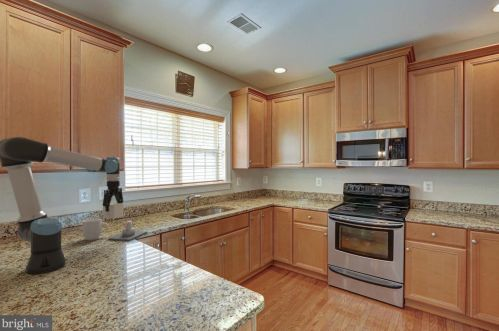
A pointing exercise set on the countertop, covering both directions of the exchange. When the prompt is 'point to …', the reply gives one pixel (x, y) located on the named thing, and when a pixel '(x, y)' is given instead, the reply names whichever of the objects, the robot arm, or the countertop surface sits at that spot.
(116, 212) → the cream cube block
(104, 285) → the countertop surface
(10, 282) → the countertop surface
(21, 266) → the countertop surface
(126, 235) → the post base
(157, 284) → the countertop surface
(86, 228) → the mug
